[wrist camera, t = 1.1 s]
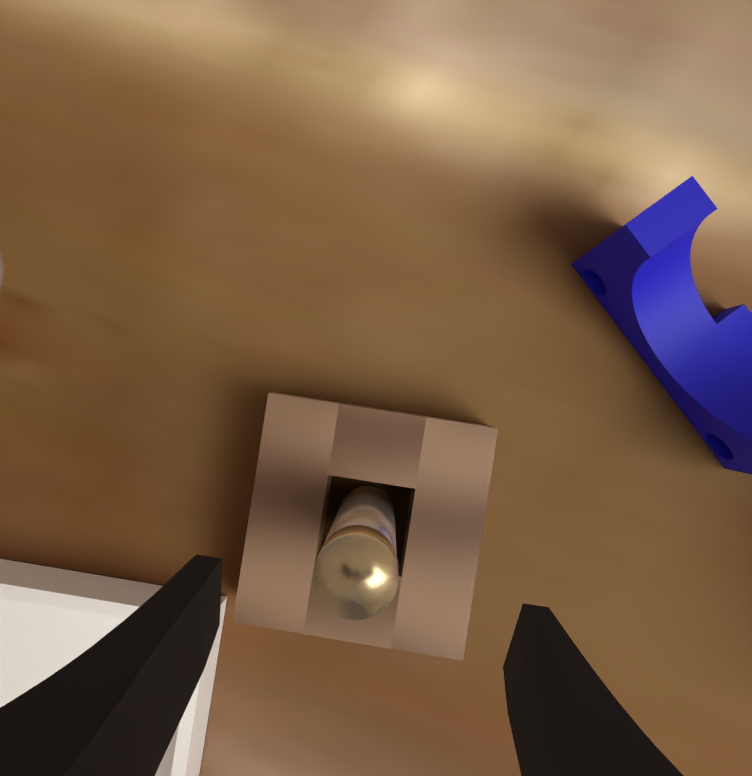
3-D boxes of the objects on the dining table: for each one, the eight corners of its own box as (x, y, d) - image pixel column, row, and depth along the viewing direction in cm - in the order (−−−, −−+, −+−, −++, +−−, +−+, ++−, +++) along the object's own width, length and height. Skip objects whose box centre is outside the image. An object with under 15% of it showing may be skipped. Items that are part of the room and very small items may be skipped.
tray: (181, 888, 25) (158, 942, 23) (-103, 837, 26) (-156, 884, 23) (227, 596, 25) (209, 618, 23) (-57, 549, 26) (-104, 565, 23)
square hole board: (455, 634, 25) (462, 660, 23) (247, 599, 25) (232, 622, 23) (487, 425, 25) (498, 428, 23) (280, 392, 26) (268, 392, 23)
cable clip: (800, 411, 25) (929, 416, 19) (722, 467, 25) (827, 490, 19) (646, 208, 25) (725, 151, 19) (570, 264, 26) (626, 224, 20)
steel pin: (390, 544, 25) (391, 627, 16) (335, 535, 25) (306, 612, 16) (398, 489, 25) (404, 541, 16) (344, 480, 25) (319, 527, 16)
